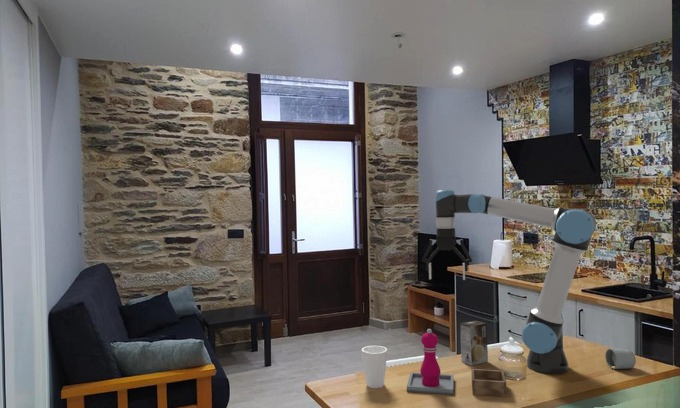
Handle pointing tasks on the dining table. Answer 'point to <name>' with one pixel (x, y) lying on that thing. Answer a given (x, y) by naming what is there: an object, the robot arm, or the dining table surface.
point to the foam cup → (374, 365)
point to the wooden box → (488, 382)
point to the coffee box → (474, 342)
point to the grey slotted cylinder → (620, 358)
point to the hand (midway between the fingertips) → (447, 279)
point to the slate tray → (443, 388)
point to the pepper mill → (430, 360)
